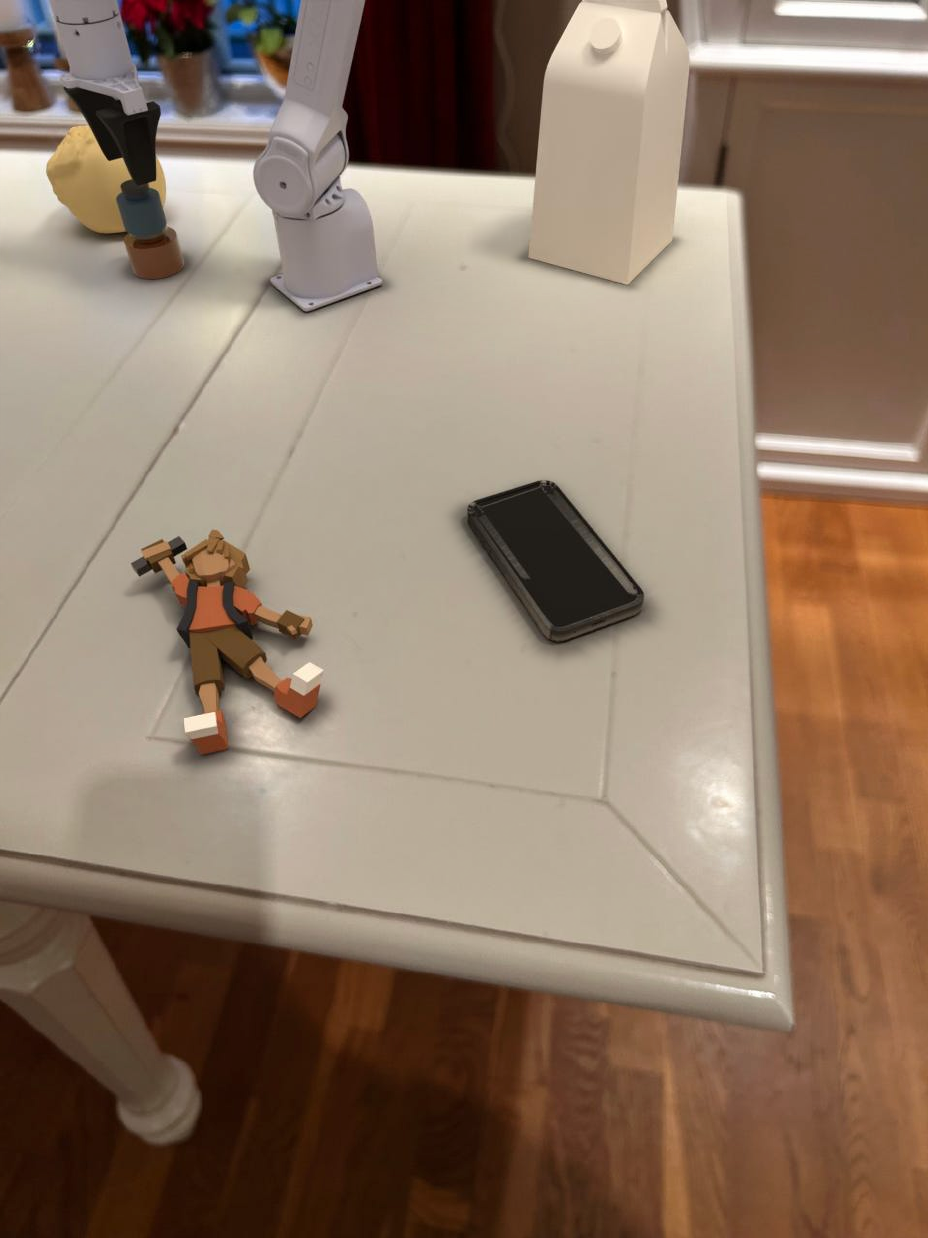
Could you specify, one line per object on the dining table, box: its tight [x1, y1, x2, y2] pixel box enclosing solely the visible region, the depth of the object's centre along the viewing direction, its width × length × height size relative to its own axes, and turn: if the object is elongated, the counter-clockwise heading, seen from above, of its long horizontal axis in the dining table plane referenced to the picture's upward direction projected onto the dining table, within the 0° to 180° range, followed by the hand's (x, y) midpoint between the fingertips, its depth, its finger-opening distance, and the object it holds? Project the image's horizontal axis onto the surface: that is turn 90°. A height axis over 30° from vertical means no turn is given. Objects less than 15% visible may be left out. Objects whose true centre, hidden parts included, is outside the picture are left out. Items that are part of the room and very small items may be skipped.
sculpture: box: [45, 124, 167, 234], centre depth 105 cm, size 12×12×11 cm
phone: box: [466, 479, 645, 643], centre depth 68 cm, size 8×1×15 cm
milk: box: [527, 0, 691, 286], centre depth 92 cm, size 12×12×26 cm
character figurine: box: [130, 529, 324, 756], centre depth 63 cm, size 12×5×18 cm
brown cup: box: [123, 224, 185, 280], centre depth 99 cm, size 6×6×5 cm
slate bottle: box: [116, 179, 168, 236], centre depth 96 cm, size 4×4×4 cm
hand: (131, 169), depth 93 cm, fingers open, 7 cm apart
